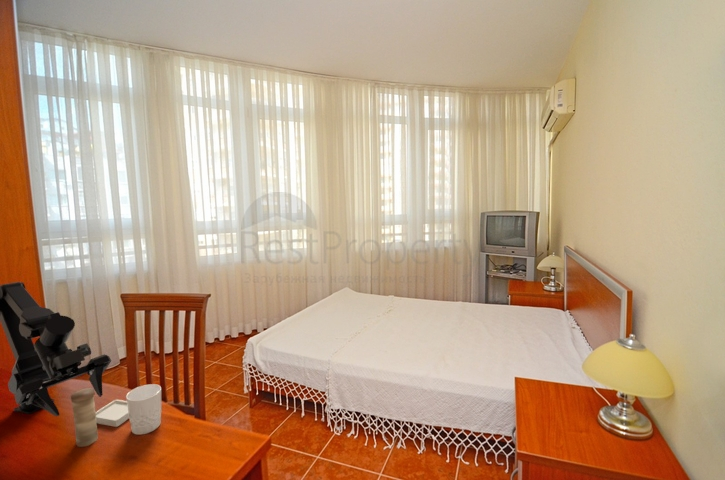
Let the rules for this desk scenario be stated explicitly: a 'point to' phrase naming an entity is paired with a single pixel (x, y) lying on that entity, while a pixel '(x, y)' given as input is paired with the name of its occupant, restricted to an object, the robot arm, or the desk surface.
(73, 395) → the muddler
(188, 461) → the desk surface
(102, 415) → the tray
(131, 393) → the white cup
